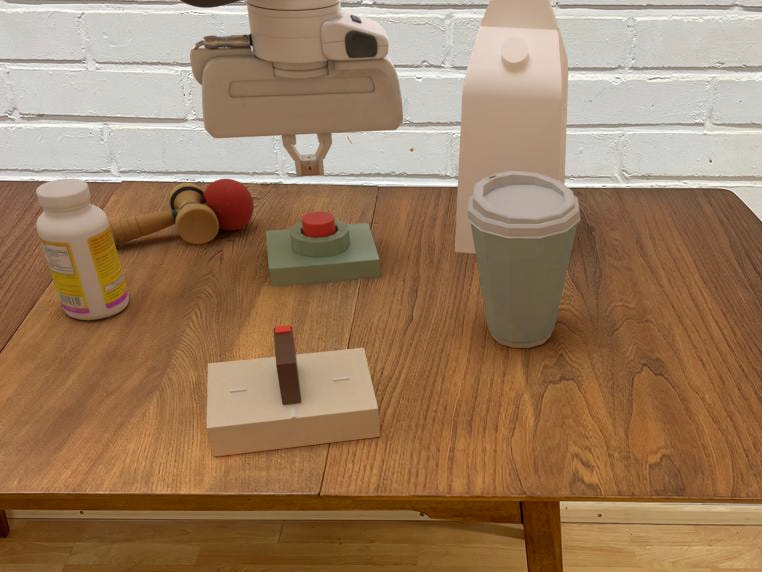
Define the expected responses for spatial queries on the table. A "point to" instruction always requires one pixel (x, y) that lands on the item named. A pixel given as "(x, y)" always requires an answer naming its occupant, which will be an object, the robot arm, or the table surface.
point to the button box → (321, 255)
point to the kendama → (193, 213)
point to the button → (318, 224)
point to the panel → (290, 421)
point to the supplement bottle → (80, 251)
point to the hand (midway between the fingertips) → (310, 174)
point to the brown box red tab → (287, 364)
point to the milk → (512, 101)
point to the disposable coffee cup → (522, 252)
